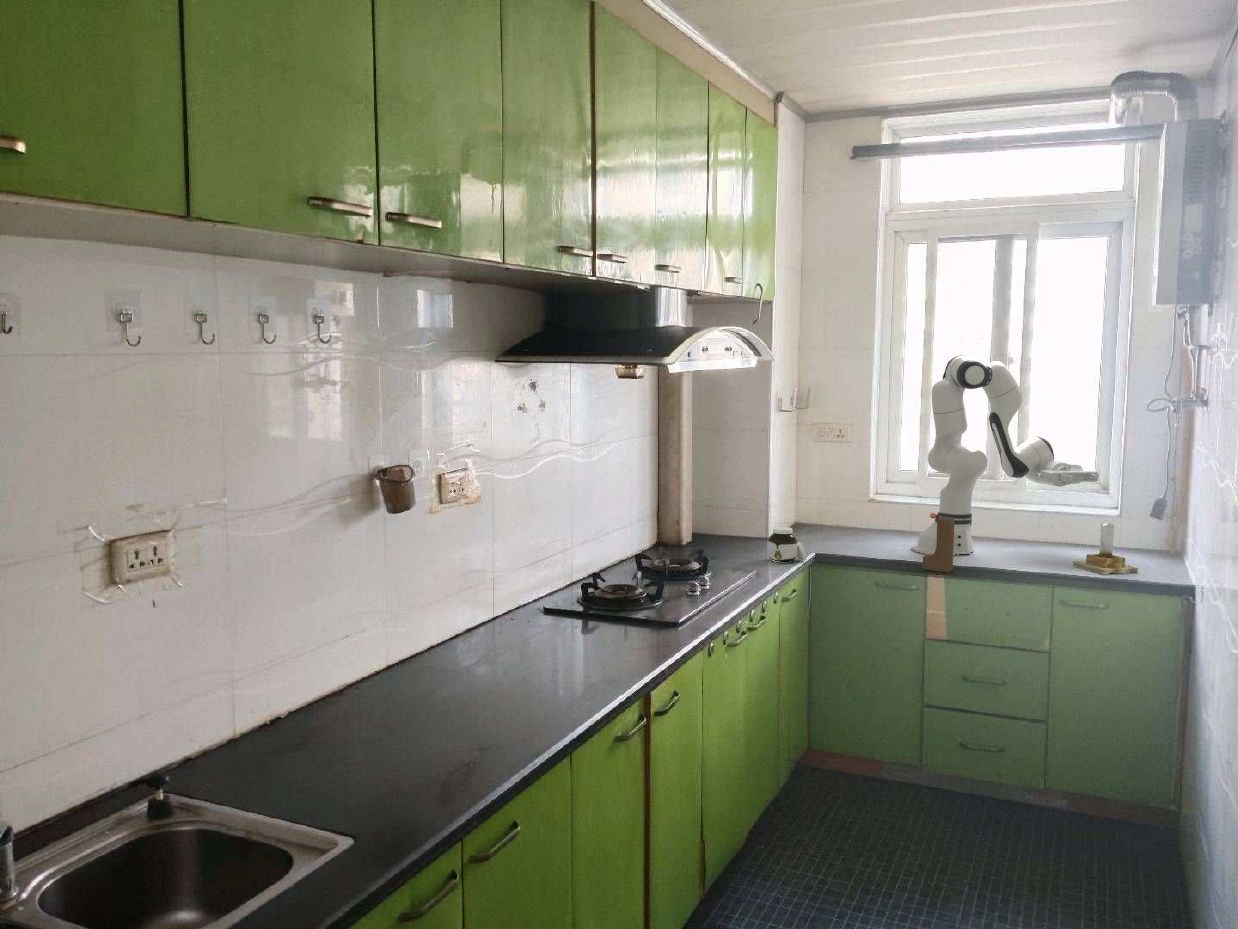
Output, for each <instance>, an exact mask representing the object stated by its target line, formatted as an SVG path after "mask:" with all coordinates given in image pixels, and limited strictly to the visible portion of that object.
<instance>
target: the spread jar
mask: <svg viewBox="0 0 1238 929" xmlns="http://www.w3.org/2000/svg"><path fill="white" fill-rule="evenodd" d="M793 532H794V531H793V528H792V527H787V526H778V527H777V526H775V527H773V528H772V533H771V535H770V536H769V537H768V539H767V556H768V558H769V560H770V559H772V560H775V561H780V562H790V561H792V562H794V561H795V560H796V559H798V558H799V559H801V560H802V561H801V562H803V561H806V560H807V553H806V550H805V548H804V546H803V545H802V543H801V542H800V541H798V540H797V538H796V536H795V535H794V533H793ZM799 559H798V560H799Z"/></svg>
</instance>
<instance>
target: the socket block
mask: <svg viewBox="0 0 1238 929" xmlns="http://www.w3.org/2000/svg"><path fill="white" fill-rule="evenodd" d="M1085 558H1086V559H1085V560H1084V561H1083V560H1082V561H1073V563H1072V566H1073V567H1074V566H1076V567H1075V568H1078V567H1079V568H1078V569H1081V570H1084V569H1085V570H1084V571H1088V570H1090V571H1089V572H1091V571H1093V572H1092V573H1094V572H1096V574H1098V573H1100V574H1099V575H1101V574H1105V575H1109V574H1108V573H1123V574H1127V573H1126V572H1138V573H1139V567H1134V566H1133V565H1128V564H1126V557H1123V556H1119V555H1115V554H1112V558H1101V557H1099V553H1091V554H1090V553H1088V554H1086V557H1085Z"/></svg>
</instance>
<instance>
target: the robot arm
mask: <svg viewBox="0 0 1238 929" xmlns="http://www.w3.org/2000/svg"><path fill="white" fill-rule="evenodd" d="M979 388H982V389H983V391H984V393H985V396H986V397H987V398H988V399H987V400H988V401H989V406H990V413H989V416H988V421H989V426H990V429H991V433H992V435H993V438H994V442H995V445H996V448H997V451H998V455H999V458H1000V459H999V460H1000V465H1001V468H1002V470H1003V473H1004V474H1006V476H1008V477H1010V478H1015V479H1022V478H1024V477H1025V478H1026V479H1028V480H1029V481H1032V482H1035V483H1037V484H1041V485H1049V486H1052V487H1058V488H1063V487H1066V486H1069V485H1073V484H1080V483H1087V482H1088V483H1090V482H1091V483H1096V482H1098V481H1099V475H1100V474H1099V472H1098V471H1097V470H1094V469H1090V468H1086V467H1082V465H1080V464H1079V465H1078V464H1071V463H1067V462H1061V461H1056V460H1055V453H1054V449H1053V447H1052V445H1051V443H1050V441H1048V440H1047V439H1044V438H1043V437H1041V436H1037V435H1035V436H1034V435H1033V436H1031V437H1029V438H1028V439H1026V440H1025V441H1024V442H1022V443H1021V444H1019V445H1018V446H1017V447H1014V445H1013V442H1012V440H1011V436H1010V432H1009V426H1010V423H1011V421H1012V420H1013V417H1014V416H1015V415H1016V414H1017V412H1018V411H1019V410H1020V407H1021V405H1022V402H1023V394H1022V390H1021V388H1020V387H1019V385H1018V383H1017V381H1016V379H1015V378H1014V376H1013V374H1012V373H1011V371H1010V369H1008V367H1007V366H1006V365H1005V363H1003V362H1001V361H991V362H988V363H987V364H986V363H984V362H983V361H980V360H978V359H976V358H974V357H972V356H967V355H956V356H953V357H952V358H951V359H949V361H948V362H947V364H946V366H945V369H944V372H943V375H942V380H939V381H937V382H935V383H934V384H933V386H932V388H931V409H932V413H933V420H934V427H935V438H934V445H933V447H932V448H931V449H930V450H929V452H928V455H927V463H928V465H929V467H930V468H931V469H932V470H935V471H936V472H938V473H940V474H944V475H945V474H946V475H949V478H948V482H947V484H946V486H944V487H943V488H941V490H940V492H939V511H938V512H937V513H934V512H930V514H928V515H929V518H930V519H934V522H933V523H932V524H930V525H929V526H928V527H926V528H925V529H924V530H922V531H921V532H920V534H919V535H918V539H917V544H916V545H911V546H910V550H912V551H913V552H916V553H919V552H920V554H923V553H924V554H923V555H928V554H933V553H935V550H936V542H937V519H938V518H940V517H951V518H954V519H955V522H954V549H953V556H956V554H957V556H960V555H959V554H970V555H971V552H972V553H974V552H975V549H974V546H973V539H972V528H971V527H972V523H973V513H972V497H973V491H974V488H975V485H976V482H977V480H978V479H979V478H980V476H982V475H983V474H985V472H986V469H987V467H988V459H987V456H986V453H984V452H983V451H981V450H979V449H977V448H974V447H970V446H964V445H962V437H963V436H962V435H963V434H964V433H965V432H966V431H967V429H968V422H967V415H966V408H965V404H964V392H965V390H966V389H968V390H974V389H979Z"/></svg>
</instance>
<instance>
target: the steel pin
mask: <svg viewBox="0 0 1238 929" xmlns="http://www.w3.org/2000/svg"><path fill="white" fill-rule="evenodd" d="M1099 533H1100V535H1099V536H1100V538H1099V553H1098V554H1099V557H1101V558H1112V555H1114V535H1115V534H1114V533H1115V524H1114V523H1110V522H1109V523H1108V522H1101V523H1100V532H1099Z"/></svg>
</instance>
